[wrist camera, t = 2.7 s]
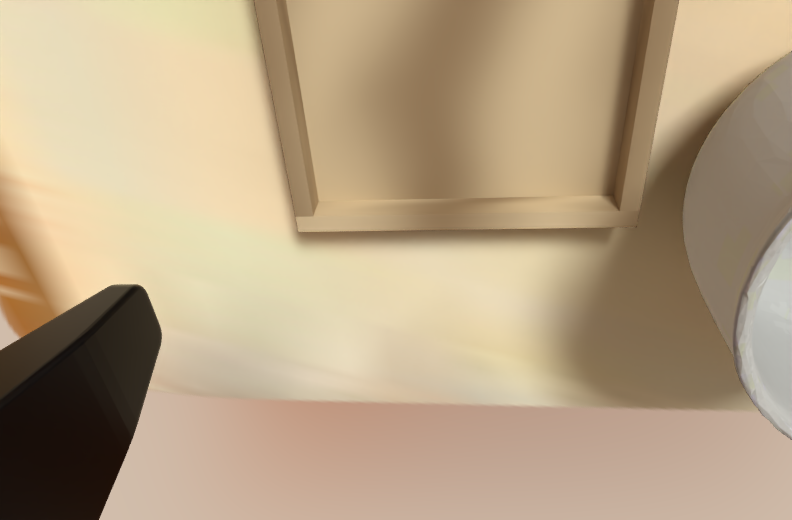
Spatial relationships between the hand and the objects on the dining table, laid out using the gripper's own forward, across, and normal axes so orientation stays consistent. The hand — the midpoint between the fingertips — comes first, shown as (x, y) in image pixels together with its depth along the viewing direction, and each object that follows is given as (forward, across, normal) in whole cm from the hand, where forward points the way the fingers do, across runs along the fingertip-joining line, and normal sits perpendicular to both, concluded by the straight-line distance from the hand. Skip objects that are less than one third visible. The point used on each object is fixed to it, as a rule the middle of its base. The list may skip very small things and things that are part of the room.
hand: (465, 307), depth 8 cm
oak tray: (+12, 0, 0) cm, 12 cm away
